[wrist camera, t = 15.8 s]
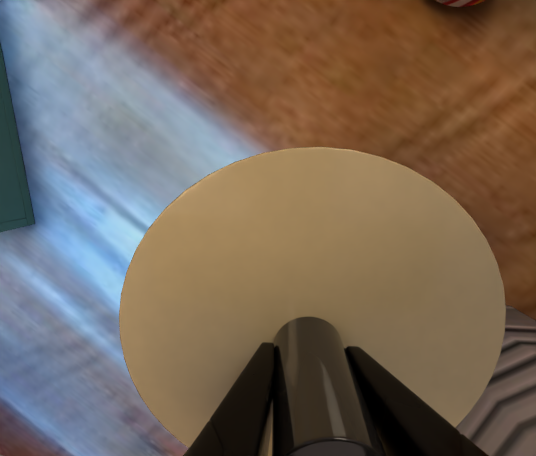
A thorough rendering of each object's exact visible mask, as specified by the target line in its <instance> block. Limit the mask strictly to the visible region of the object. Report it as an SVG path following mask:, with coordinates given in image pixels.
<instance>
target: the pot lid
mask: <svg viewBox="0 0 536 456" xmlns="http://www.w3.org/2000/svg"><path fill="white" fill-rule="evenodd" d="M505 320H506V304H505V295H504V286H503V282H502V278H501V275H500V271H499V267H498V264H497V261H496V259H495V257H494V255H493V252H492V250H491V248H490V246H489V244H488V241H487V239H486V238H485V236H484V235H483V233H482V232H481V230H480V229H479V227H478V226H477V224H476V223H475V221H474V220H473V219H472V217H471V216H470V215H469V214H468V213H467V212H466V211H465V210H464V209H463V208H462V207H461V205H460V204H459V203H458V202H457V201H456V200H455V199H454V198H453V197H452V196H450V195H449V194H448V193H447V192H445V191H444V190H443V189H442V188H440V187H439V186H438V185H436V184H435V183H434V182H433V181H431V180H429V179H428V178H426V177H424V176H422V175H421V174H419V173H417V172H415V171H414V170H412V169H410V168H408V167H406V166H404V165H401V164H399V163H396V162H394V161H391V160H388V159H386V158H383V157H381V156H377V155H373V154H368V153H364V152H360V151H356V150H352V149H341V148H331V147H301V148H288V149H283V150H277V151H272V152H266V153H261V154H258V155H255V156H252V157H249V158H246V159H243V160H240V161H237V162H234V163H232V164H230V165H228V166H226V167H223V168H221V169H219V170H217V171H215V172H213V173H211V174H209V175H207V176H206V177H204V178H203V179H201V180H200V181H198V182H197V183H195V184H194V185H192V186H191V187H189V188H188V189H186V190H185V191H184V192H183V193H182V194H181V195H180V196H178V197H177V198H176V199H175V200H174V201H173V202H172V203H171V204H170V205H168V206H167V207H166V208H165V209H164V211H163V212H162V213H161V214H160V215H159V217H158V218H157V219H156V220H155V221H154V223H153V224H152V225H151V226H150V227H149V229H148V231H147V232H146V234H145V235H144V237H143V239H142V240H141V242H140V244H139V245H138V247H137V249H136V251H135V253H134V256H133V258H132V260H131V263H130V265H129V267H128V270H127V273H126V277H125V281H124V285H123V289H122V293H121V301H120V311H119V325H120V339H121V344H122V350H123V355H124V359H125V362H126V365H127V368H128V371H129V373H130V376H131V379H132V381H133V383H134V385H135V387H136V389H137V391H138V392H139V394H140V396H141V398H142V399H143V401H144V402H145V404H146V405H147V407H148V408H149V410H150V411H151V412H152V414H153V415H154V416H155V417H156V418H157V419H158V421H159V422H160V423H161V424H162V425H163V426H164V427H165V428H166V429H167V430H168V431H169V432H170V433H171V434H172V435H173V436H174V437H176V438H177V439H178V440H179V441H180V442H181V443H183V444H184V445H185V446H187V447H188V448H189V447H190V446H191V445H192V443H193V442H194V441H195V439H196V438H197V436H198V435H199V434H200V432H201V431H202V429H203V428H204V426H205V425H206V423H207V422H208V421H210V418H211V416H212V415H213V413H214V412H215V410H216V409H217V408H218V406H219V405H220V403H221V402H222V400H223V399H224V397H225V396H226V394H227V393H228V391H229V390H230V389H231V387H232V386H233V384H234V383H235V381H236V380H237V378H238V377H239V375H240V374H241V372H242V371H243V369H244V368H245V367H246V365H247V364H248V362H249V361H250V359H251V358H252V356H253V355H254V353H255V352H256V350H257V349H258V348H259V346H260V345H261V343H263V342H270V343H274V385H273V409H272V425H271V434H270V442H269V450H268V456H387V455H386V453H385V450H384V447H383V445H382V442H381V440H380V437H379V435H378V432H377V429H376V427H375V424H374V422H373V419H372V417H371V414H370V411H369V409H368V406H367V404H366V401H365V399H364V396H363V393H362V391H361V388H360V386H359V383H358V380H357V378H356V375H355V373H354V370H353V368H352V365H351V362H350V360H349V357H348V355H347V352H346V347H347V346H358V347H360V348H361V349H363V350H364V351H365V352H366V353H367V354H369V355H370V356H371V357H372V358H373V359H374V360H376V361H377V362H378V363H379V364H380V365H382V366H383V367H384V368H385V369H386V370H388V371H389V372H390V373H391V374H392V375H393V376H395V377H396V378H397V379H398V380H399V381H401V382H402V383H403V384H404V385H405V386H406V387H408V388H409V389H410V390H411V391H412V392H414V393H415V394H416V395H417V396H418V397H419V398H421V399H422V400H423V401H424V402H425V403H427V404H428V405H429V406H430V407H431V408H433V409H434V410H435V411H436V412H437V413H438V414H440V415H441V416H442V417H443V418H444V419H446V420H447V421H448V422H449V423H450V424H451V425H453V426H454V427H455V428H456V427H457V426H458V425H459V423H460V422H461V421H462V420H463V419H464V418H465V417H466V416H467V415H468V414H469V413H470V411H471V410H472V408H473V407H474V406H475V404H476V403H477V401H478V400H479V399H480V397H481V396H482V394H483V392H484V391H485V389H486V387H487V385H488V383H489V381H490V379H491V377H492V376H493V373H494V370H495V367H496V365H497V362H498V359H499V356H500V353H501V348H502V344H503V339H504V334H505Z"/></svg>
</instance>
